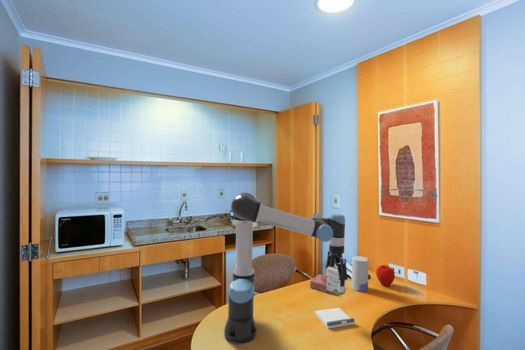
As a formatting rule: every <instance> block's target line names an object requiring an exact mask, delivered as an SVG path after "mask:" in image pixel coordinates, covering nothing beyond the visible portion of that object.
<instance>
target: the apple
mask: <svg viewBox="0 0 525 350" xmlns="http://www.w3.org/2000/svg"><path fill="white" fill-rule="evenodd" d="M375 274H376V278H377V280H378V282H379V283H380V284H381V286H383V287H386V288H388V287H390V286H392V284H393V282H394V280H395V278H396V276H395V275H396V273H395V271H394V269H393V267H391V266H390V265H385V264H382V265H379V266H378V267H377V268H376V272H375Z"/></svg>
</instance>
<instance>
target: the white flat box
mask: <svg viewBox="0 0 525 350" xmlns="http://www.w3.org/2000/svg"><path fill="white" fill-rule="evenodd" d="M314 314H315V316H316V317H317V318H318V319H319V321H321V323H322V324H323V325H324V327H326V328H327V329H328V330H329V329H334V328H339V327H346V326H352V325H353V326H354V325H355V318H354V317H350V316H349V315H348V314H346V312H344V310H342V309H341V308H340V307H335V308H327V309H321V310H319V309H318V310H314Z"/></svg>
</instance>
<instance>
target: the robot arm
mask: <svg viewBox="0 0 525 350" xmlns="http://www.w3.org/2000/svg"><path fill="white" fill-rule="evenodd" d="M230 206H231V207H230V209H231V212H232V214H233V215H232V216H233V217H232V218H233V219H232V220H233V221H234V222H235V268H234V269H233V270H232V282H230V284H229V286H228V291H227V292H228V312H227V313H228V315H227V320H226V323H225V325H224V330H223V331H224V332H223V335H224V337H225V339H226V340H227V341H229V342H230V343H234V344H245V343H249V342H250V341H252V340H254V339H255V337H257V333H258V331H257V330H258V329H257V324H256V322H255V318H254V301H255V299H254V298H255V297H254V296H255V288H256V270H255V269H254V268H253V239H254V237H253V234H254V233H253V232H254V231H253V227H254V226H253V223H258V222H261V223H263V224H264V223H265V224H267V225H271V226H274V227H277V228H282V229H284V230H288V231H290V232H295V233H299V234H302V235H306V236H310V237H313V238H316V239H318V240H319V241H321V242H325V243H327V242H328V243H329V246H328V251H327V258H326V264H325V269H326V270H327V268H328V267H336V268H338V273H339V277H340V279H339V285H338V292H339V293H341V292H344V281H345V282H346V281H348V272H347V259H346V258H343V254H344V253H345V235H346V234H345V233H346V232H345V231H346V217H345V215H344V214H341V213H331V214H330V215H329V217H325V218H322V217H321V218H320V217H308V218H307V217H304V216H301V215H297V214H293V213H292V212H286V211H283V210H279V209H277V208H273V207H268V206H266V205H264V203H262V202H259V201H258V200H257V199H256V197H255V196H254V195H252V194H251V193H249V192H241V193H239V194H237V195H236V196H235V197H234V199H233V200H232V201H231V205H230Z"/></svg>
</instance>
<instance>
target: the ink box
mask: <svg viewBox="0 0 525 350" xmlns="http://www.w3.org/2000/svg"><path fill="white" fill-rule="evenodd" d="M326 276H327V290H329V291H331V292H333V293H332V294H335V295H337V296H343V295H344V294H346V280H345V281H344V292H341V293H339V292H338V285H339V279H340V277H339V273H338V268H337V266H334V267H328V268H327V269H326Z"/></svg>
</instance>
